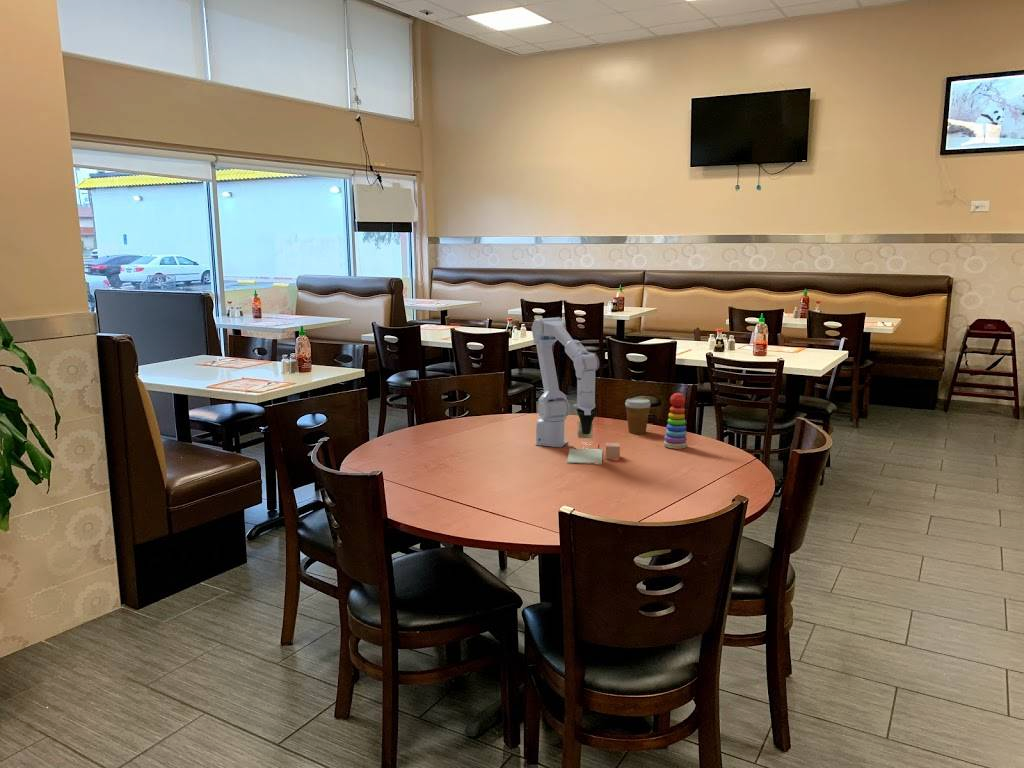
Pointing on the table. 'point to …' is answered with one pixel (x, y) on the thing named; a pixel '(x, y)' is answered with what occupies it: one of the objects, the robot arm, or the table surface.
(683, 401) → the stacking toy
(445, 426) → the table surface
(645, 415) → the disposable coffee cup
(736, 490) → the table surface
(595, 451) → the plate
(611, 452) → the pinkish tan cube
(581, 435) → the beech block
